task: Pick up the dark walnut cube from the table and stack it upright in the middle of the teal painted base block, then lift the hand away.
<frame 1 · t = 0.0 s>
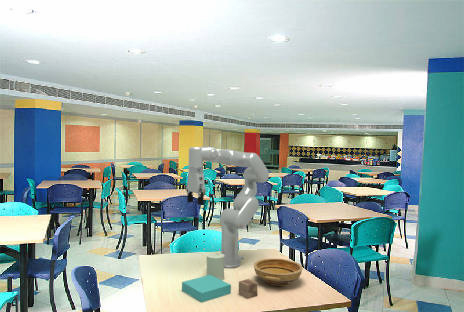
hand: (195, 203, 189), 37 cm above the table, tool pointing down, fingers open, 9 cm apart
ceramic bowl: (277, 282, 180), on the table
walnut cube: (247, 295, 163), on the table
teal base: (206, 292, 166), on the table
can: (215, 278, 184), on the table
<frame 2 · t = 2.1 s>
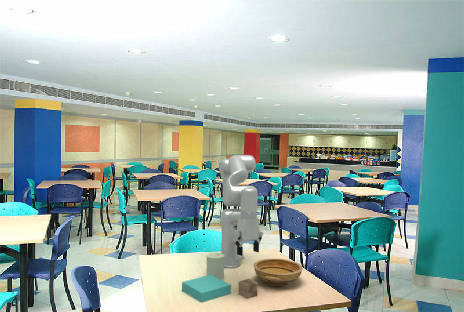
hand: (248, 253, 163), 19 cm above the table, tool pointing down, fingers open, 9 cm apart
nothing on the table moved.
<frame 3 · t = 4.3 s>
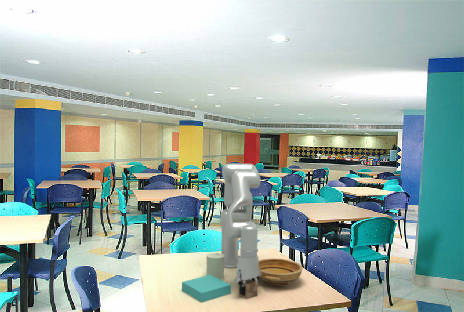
hand: (247, 292, 163), 1 cm above the table, tool pointing down, fingers closed on walnut cube, 6 cm apart
walnut cube: (247, 295, 163), on the table, touching gripper
everything else where it was.
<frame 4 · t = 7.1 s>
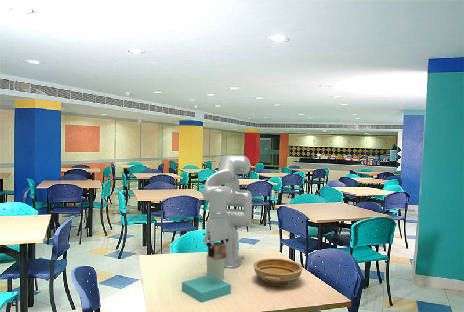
hand: (216, 254, 165), 17 cm above the table, tool pointing down, fingers closed on walnut cube, 6 cm apart
walnut cube: (216, 257, 165), point 16 cm above the table, touching gripper
everything else where it was.
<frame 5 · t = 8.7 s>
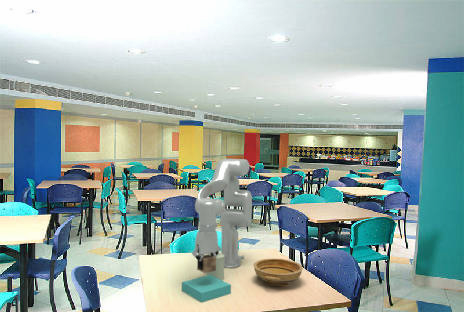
hand: (206, 267, 165), 11 cm above the table, tool pointing down, fingers closed on walnut cube, 6 cm apart
walnut cube: (206, 270, 165), point 10 cm above the table, touching gripper
everything else where it was.
when the fingers open (6 cm above the table, at t = 10.0 s): walnut cube drops 1 cm, resting on teal base.
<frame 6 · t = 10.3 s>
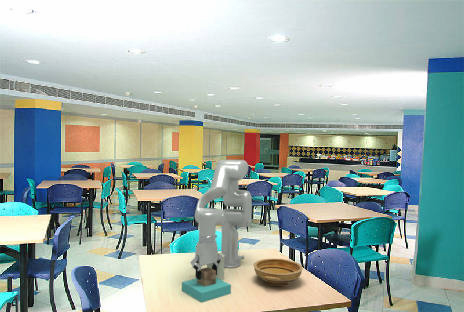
hand: (206, 276, 166), 7 cm above the table, tool pointing down, fingers open, 8 cm apart
walnut cube: (206, 283, 166), point 4 cm above the table, touching teal base
everything else where it was.
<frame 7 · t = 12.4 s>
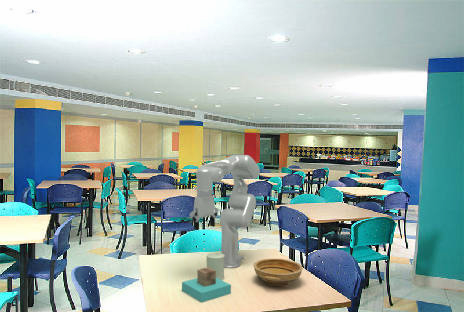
hand: (204, 227, 180), 26 cm above the table, tool pointing down, fingers open, 9 cm apart
nothing on the table moved.
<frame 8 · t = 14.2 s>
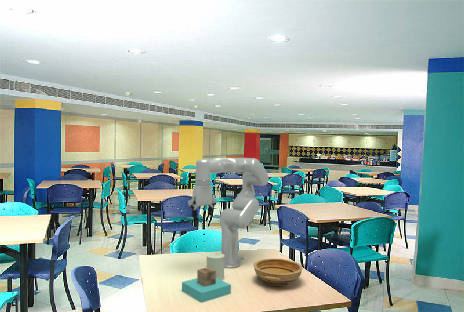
hand: (202, 216, 187), 30 cm above the table, tool pointing down, fingers open, 9 cm apart
nothing on the table moved.
at the end: walnut cube inside the target area on the teal base (0.0 cm from its centre), point 4.0 cm above the teal base's base; walnut cube tilted 0°; the gripper is holding nothing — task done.
